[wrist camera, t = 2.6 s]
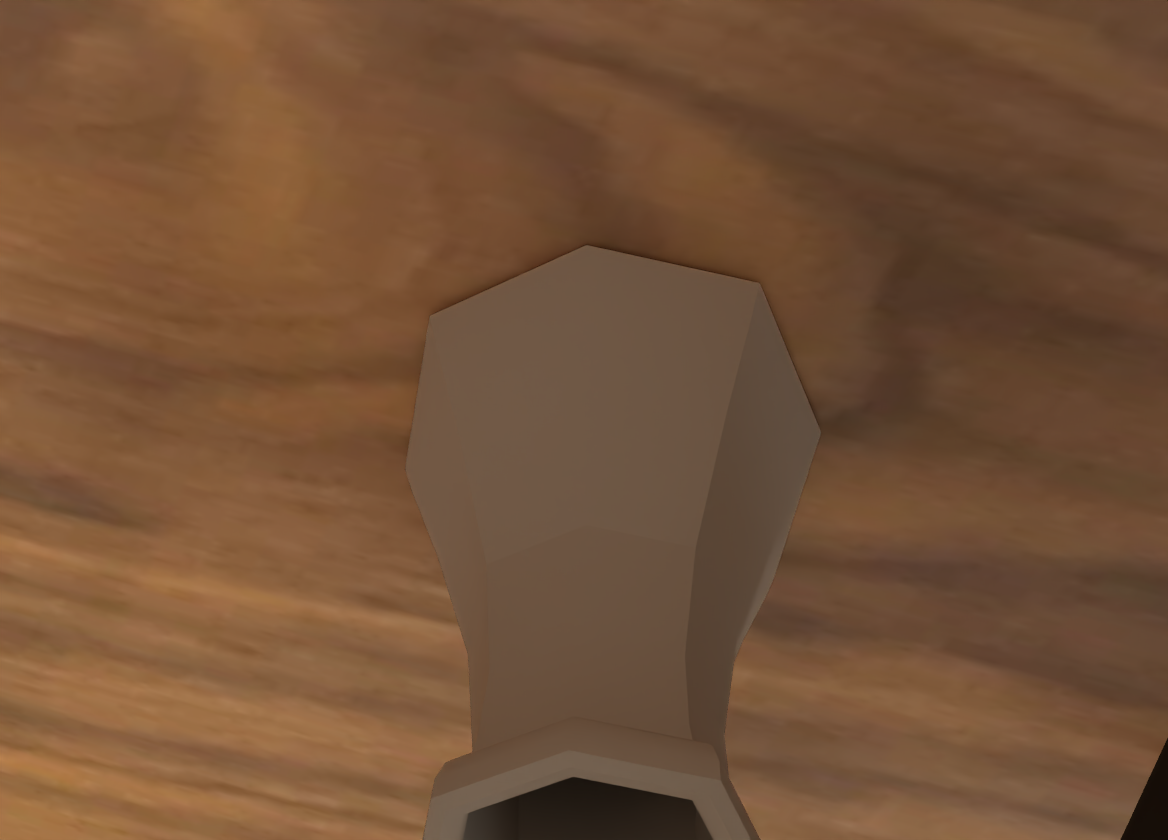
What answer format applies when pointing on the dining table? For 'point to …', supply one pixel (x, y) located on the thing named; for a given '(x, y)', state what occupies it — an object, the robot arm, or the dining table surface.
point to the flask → (604, 538)
